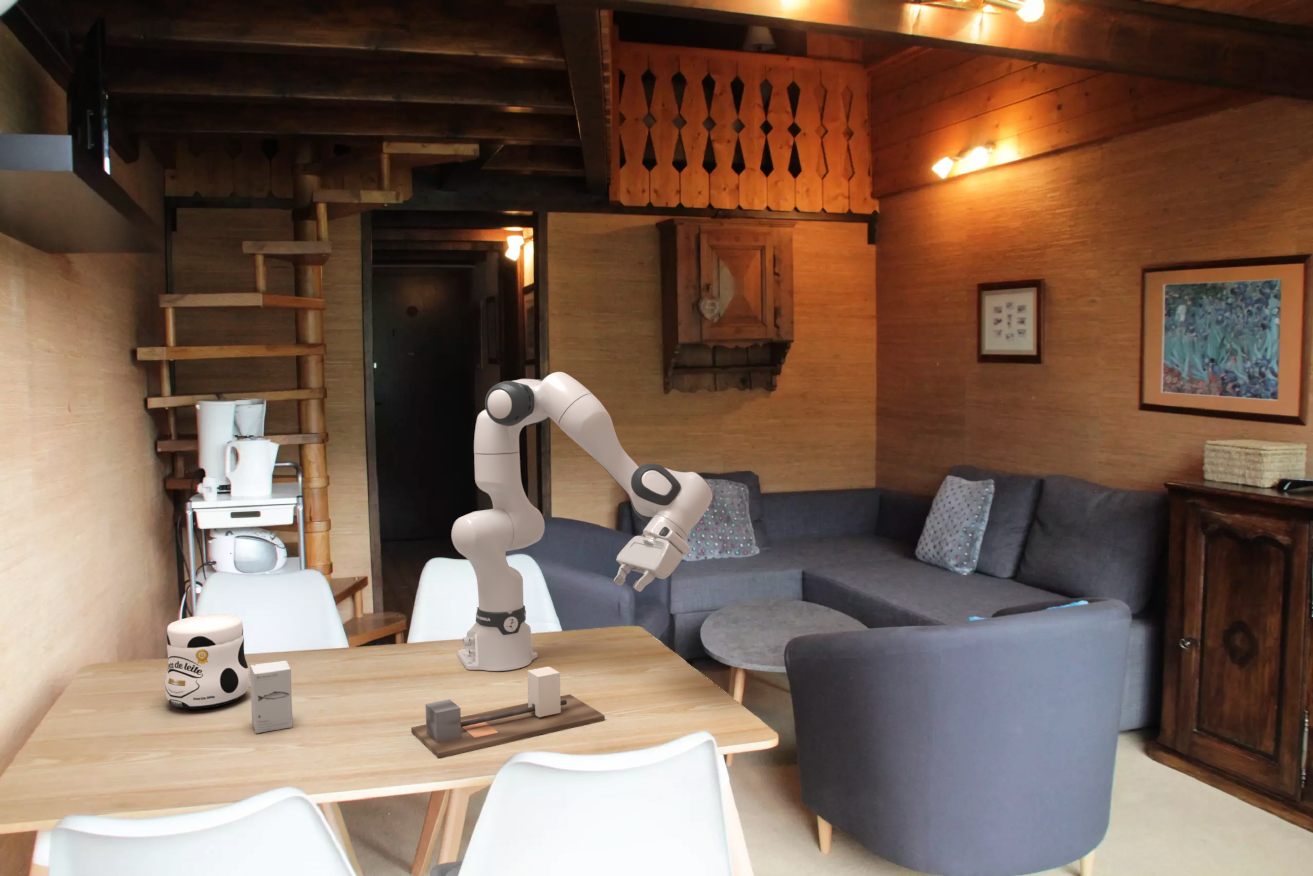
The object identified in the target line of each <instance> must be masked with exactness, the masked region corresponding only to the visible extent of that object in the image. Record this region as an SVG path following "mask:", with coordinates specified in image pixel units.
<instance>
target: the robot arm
mask: <svg viewBox="0 0 1313 876" xmlns="http://www.w3.org/2000/svg"><path fill="white" fill-rule="evenodd" d="M484 407H485V409H484V410H482V411H481V412H479V413H478V414H477V418H476V420H475V421H476V422H475V429H474V438H473V439H474V440H473V454H474V455H473V456H474V460H473V461H474V462H473V464H474V480H475V484H476V486H477V487H478V489H479V490H481V491H482V492H485V493H486V494H488V496H489V497H490V499H491V503H492V508H490V509H484V510H483V509H482V510H476V511H472V512H470V513H467V514H465V515H463V516H460V517H458V518H457V519H456V520H455V521H454V522H453V525H452V529H451V535H450V536H451V541H452V544H453V546H454V548H455V550H456V551H457V552H458V553H459V554H460V555H462V556H463V557H465V559H466V560H468V562H469V563H470V565H471V566H472V568H473V570H474V574H475V576H476V577H475V579H476V582H477V583H476V584H477V594H478V595H477V597H478V606H477V607H476V613H475V623H474V624H473V626H471V627H470V629H469V630H468V631H467V632H466V636H465V637H463V638H462V645H463V648H461V649H459V650H457V657H458V658H459V659H460V661H461V662H462V665H463V666H464V668H465V669H466V670H471V671H475V670H480V671H489V672H490V671H491V672H500V671H501V672H502V671H503V672H504V671H513V670H517V669H520V668H521V669H522V668H524V667H526V666H528V665H530V664H531V663H532V661H533V660H535V659H537V658H538V652H536V651H533V650H534V649H533V638H532V631H531V626H530V625H529V624H528V623H526V619H527V618H526V617H527V616H526V614H527V610H526V606H525V605H524V578H523V576H522V573H521V572H519V570H517V569H516V568H515V567H512V566H510V565H509V562H508V561H507V557H506V554H507V553H506V552H509V551H515V550H520V549H525V548H527V547H529V546H532V545H533V544H536V543H538V542H539V541H540V540H541V539H542V537H543V535H544V534H545V523H546V522H545V520H544V517H543V514H542V513H541V511H540V510H539V509H538V508H537V507H535V506H534V505H533V504H532V503H531V502H530V500H529V498H528V497H527V495H526V492H525V490H524V487H523V483H522V474H521V459H520V458H521V456H520V434H521V431H522V429H523V428H524V427H525V426H526V427H533V426H535V425H538V424H541V423H545V422H546V421H548V420H550V419H551V420H552V421H553V422H554V423H555V424H556V425H557V426H558V428H560V430H562V432H564V433H565V435H567V436H568V437H569V439H571V440H572V441H573V442H575V443H576V444H577V445H578V446H580V448H582V449H583V450H584V451H585V452H586V453H588V454H589V455H590V456H591V457H592V458H593V459H594V460H595V461H597V462H598V464H600V466H602V467H603V468H604V470H605V471H606V472H607V473H608V474H609V476H611V477H612V478H613V480H614V481H616V483H617V484H618V485H619V486H620V487H621V488H622V490H623V491H624V493H626V494H627V496H628V499H629V501H630V503H631V507H632V510H633V511H634V514H635V515H636V516H637V517H638V518H639V519H640V520H642V521H644V522H647V525H646V526H645V527H644V529H643V530H642V534H640V535H636V536H635V535H634V537H632V538H631V539H630V540H629V541H628V542H627V543H626V544H625V546H624V547H623V548H622V549H621V550H620V551H619V553H618V554H617V555H616V559H615V560H616V562H617V563H619V564H620V566H619V569H618V571H617V575H616V576H615V577H614V579H613V582H614V583H615V584H617V585H618V586H623V584H624V583H626V578H627V575H628V574H630V572H631V571H634V572H636V573H640V574H643V575H642V576H641V577H640V578H639V579H638V580H636V581H635V582H634V583H633V585H632V588H633V589H634V590H635V591H636V592H638V593H639V592H640V593H641V592H642V591H643V590H644V588H645V587H647V585H649V584H650V583H652V582H653V581H654V580H655V578H656V579H657V578H658V579H662V580H665V579H667V578H668V577H669V576H671V575H672V573H673V572H674V571H675V569H676V568H677V567H678V566H679V564H680V563H681V561H682V560H683V558H684V556H686V555H688V554H689V553H690V551H691V546H689V545H688V543H687V542H686V540H687V538H688V536H689V534H690V532H691V530H692V529H693V527H695V526H696V525H697V524H698V523H699V522H700V521H701V519H702V517H703V516H704V515H705V513H706V511H707V510H708V508H709V507H710V505H711V502H712V500H713V490H712V487H711V486H710V485H709V482H708V481H707V480H706V478H704V477H703V476H702V475H701V474H698V473H697V472H695V471H685V472H683V471H678V470H673V469H669V468H667V467H664V466H662V465H661V464H658V463H655V462H654V463H653V462H651V463H646V464H642V465H640V466H638V464H637V463H636V462H635V461H634V460H633V459H632V457H630V456H629V455H628V454H627V452H626V451H625V449H624V448H623V447H622V445H621V443H620V441H619V439H618V436H617V434H616V431H615V427H614V423H613V420H612V417H611V415H610V414H609V412H608V411H607V409H606V408H605V406H604V405H603V404H602V403H601V401H600V400H599V399H598V398H597V396H595V395H594V394H593V393H592V392H591V391H590V390H589V389H588V388H587V387H585V386H584V384H582V383H581V382H579V381H578V380H577V379H575V378H574V377H572V376H571V375H569V374H567V373H566V372H563V371H556V372H552V373H550V374H548V375H547V376H546V377H544V378H543V379H540V378H539V379H538V378H536V379H533V378H520V379H516V380H515V379H514V380H505V381H502V382H499V383H496V384H495V385H493V386H491V388H489V390H487V393H486V395H485V399H484Z"/></svg>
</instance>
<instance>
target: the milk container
mask: <svg viewBox="0 0 1313 876" xmlns="http://www.w3.org/2000/svg"><path fill="white" fill-rule="evenodd" d="M166 641H167V643H166V644H167V645H166V650H167V670H166V674H165V677H164V692H165V696H166V699H167V701H168V703H169V704H170V705H173V706H174V707H176V708H179V709H185V710H187V709H188V710H190V709H192V710H193V709H195V710H201V709H208V708H209V709H210V708H211V709H212V708H215V707H221V706H223V705H227V704H230V703H232V702H233V703H234V702H235V701H237V700H239V699H240V698H242V697H244V695H245V694H246V693H247V692H248V690H249V687H250V667H249V666H248V665H249V664H248V663H247V659H246V656H245V637H244V626H243V621H242V617H241V616H238V615H235V614H227V613H218V614H217V613H216V614H213V613H212V614H202V615H197V616H190V617H189V616H188V617H186V618H182V619H178V620H176V621H173V622H171V623H170V624H168V625H167V629H166Z"/></svg>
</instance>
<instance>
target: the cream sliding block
mask: <svg viewBox="0 0 1313 876" xmlns="http://www.w3.org/2000/svg"><path fill="white" fill-rule="evenodd" d="M526 672H527V673H526V674H527V703H528V708H529V707H533V706H535V711H533V712H535V715H536V716H538V717H543V716H547V715H552V714H556V713H561V703H560V696H561V672H559V671H558V670H556V669H554V668H552V667H551V666H544V667H540V668H539V667H538V668H534V669H528V670H527V671H526Z"/></svg>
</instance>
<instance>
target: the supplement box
mask: <svg viewBox="0 0 1313 876" xmlns="http://www.w3.org/2000/svg"><path fill="white" fill-rule="evenodd" d="M249 673H250V681H249V683H250V699H251V700H250V701H251V724H252V726H253V729H255V730H254V732H255V734H256V733H257V734H260V733H265V732H271V731H278V730H284V729H285V730H286V729H292V728H293V726H294V724H293V723H294V722H293V720H294V719H293V702H292V697H293V696H292V671H291V667H290V665H289V663H288V660H281V661H272V662H264V663H256V664H250V665H249Z"/></svg>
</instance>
